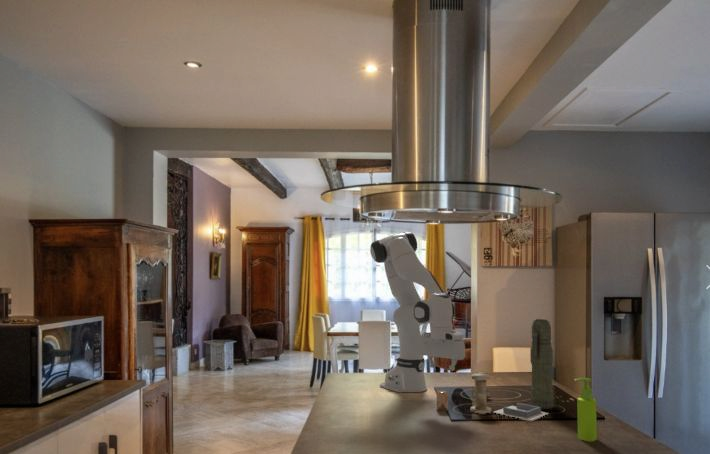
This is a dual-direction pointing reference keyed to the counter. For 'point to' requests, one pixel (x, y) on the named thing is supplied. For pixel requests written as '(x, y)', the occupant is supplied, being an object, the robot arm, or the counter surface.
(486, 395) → the push button
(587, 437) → the soap dispenser
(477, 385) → the wooden spool
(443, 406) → the copper plug
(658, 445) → the counter surface
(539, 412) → the terminal board
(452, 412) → the counter surface
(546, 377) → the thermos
